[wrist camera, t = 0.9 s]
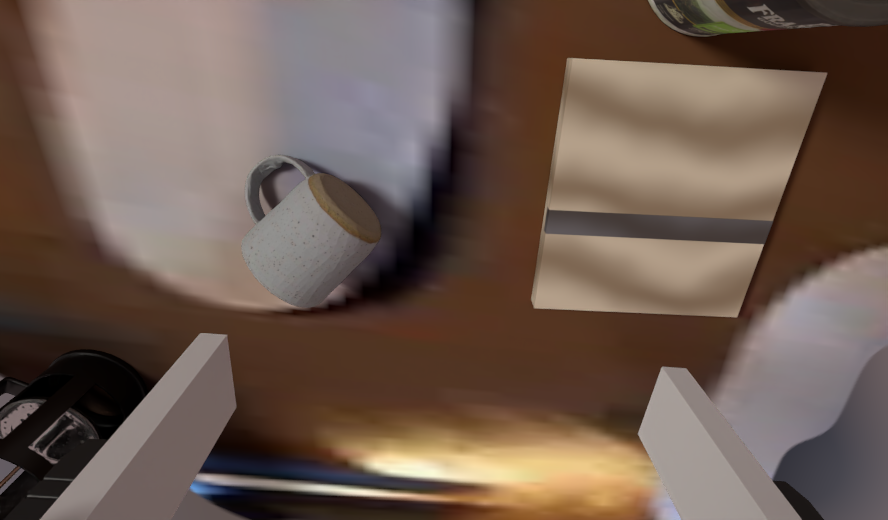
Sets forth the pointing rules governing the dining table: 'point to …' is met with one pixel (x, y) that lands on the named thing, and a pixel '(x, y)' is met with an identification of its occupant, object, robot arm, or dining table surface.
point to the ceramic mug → (307, 234)
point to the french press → (59, 415)
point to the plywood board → (666, 184)
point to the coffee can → (766, 14)
